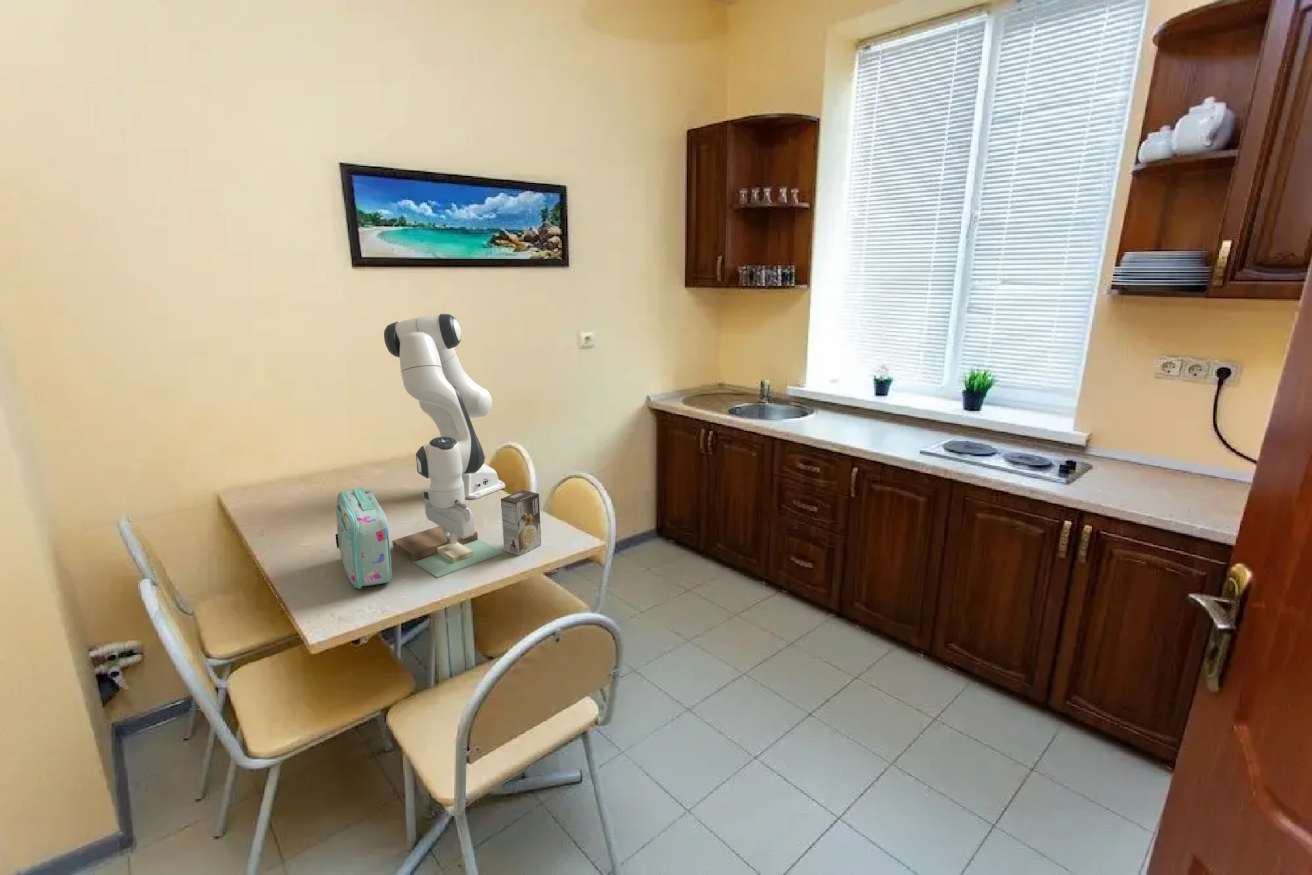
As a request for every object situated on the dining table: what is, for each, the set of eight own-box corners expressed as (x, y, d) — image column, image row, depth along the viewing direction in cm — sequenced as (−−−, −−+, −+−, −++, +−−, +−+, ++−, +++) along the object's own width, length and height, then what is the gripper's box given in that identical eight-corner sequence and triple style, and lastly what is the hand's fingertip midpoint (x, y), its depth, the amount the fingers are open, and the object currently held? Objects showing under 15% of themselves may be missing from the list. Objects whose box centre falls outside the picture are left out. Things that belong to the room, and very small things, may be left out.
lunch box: (336, 556, 167) (326, 484, 161) (376, 548, 173) (368, 477, 167) (353, 598, 146) (343, 516, 140) (398, 587, 152) (390, 507, 146)
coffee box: (525, 539, 180) (523, 488, 176) (541, 544, 176) (540, 493, 172) (503, 550, 172) (500, 498, 168) (519, 556, 169) (517, 503, 165)
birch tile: (456, 546, 174) (456, 541, 173) (473, 555, 168) (473, 551, 168) (437, 552, 169) (436, 547, 169) (453, 563, 164) (453, 558, 163)
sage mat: (479, 540, 178) (479, 539, 178) (503, 553, 171) (503, 552, 171) (415, 563, 164) (414, 561, 164) (437, 578, 156) (437, 576, 156)
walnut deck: (456, 528, 187) (456, 520, 186) (477, 539, 179) (477, 531, 178) (393, 548, 172) (392, 540, 172) (413, 562, 165) (412, 553, 164)
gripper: (478, 503, 161) (482, 550, 165) (439, 484, 174) (443, 529, 178) (457, 509, 156) (461, 558, 160) (418, 490, 170) (423, 535, 173)
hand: (451, 542), depth 169 cm, fingers closed
